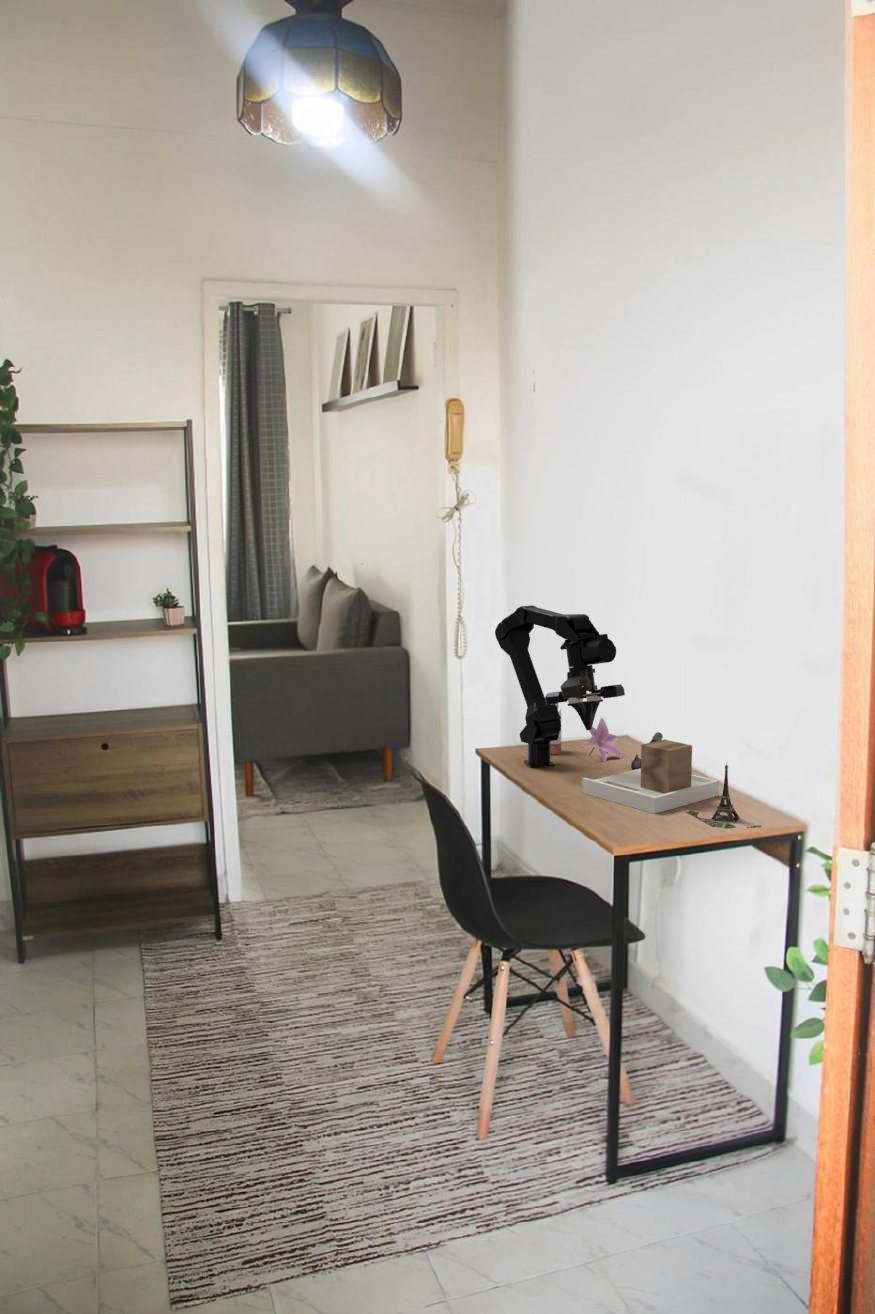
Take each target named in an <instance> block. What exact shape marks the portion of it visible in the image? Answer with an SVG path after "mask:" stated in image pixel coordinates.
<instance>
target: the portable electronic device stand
mask: <svg viewBox="0 0 875 1314" xmlns="http://www.w3.org/2000/svg"><path fill="white" fill-rule="evenodd" d="M660 740H663V733H662V732H659V731H657V732H655V733H654V735H653V736H652V738H651V741H649V743H651V742H656V741H660ZM630 768H631V771H632V770H636V769H640V768H641V757H640V758H639V754H636V755H635V756H634V759H633V760H632V761H631V765H630Z"/></svg>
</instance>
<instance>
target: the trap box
mask: <svg viewBox="0 0 875 1314" xmlns="http://www.w3.org/2000/svg"><path fill="white" fill-rule="evenodd" d="M719 786H720V780H717V779H712V778H709V777H704V776H699V775H695V774H691V787H688V788H684V789H680V790H677V791H673V792H669V793H665V794H664V793H660V792H656V791H652V790H649V789H645V788H641V767H640V768H639V769H636V770H632V769H631V770H628V771H624V772H619V773H615V774H611V775H608V776H604V777H603V776H602V777H599V778H596V779H592V778H588V777H582V778H581V790H582V791H581V793H582V794H585V795H588V796H592V797H595V798H599V799H602V800H606V801H609V802H613V803H616V804H620V805H623V806H626V807H630V808H634V809H637V810H641V811H645V812H647V813H651V814H654V815H656V814H659V813H663V812H665V811H670V810H672V809H676V808H681V807H683V806H688V805H691V804H694V803H698V802H702V801H704V800H708V799H713V798H716V797H718V795H719V793H720V792H719V791H720V790H719V789H720V787H719ZM715 796H716V797H715Z"/></svg>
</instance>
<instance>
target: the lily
mask: <svg viewBox="0 0 875 1314" xmlns="http://www.w3.org/2000/svg"><path fill="white" fill-rule="evenodd" d="M588 731H589V734H590V735H591V737H590V738H589V739H588V741H587V743H586V745H587V747H590V748H592V749H591V751H590V753H589V754H588V756H591V755H592V753H593V751H594V750H595V749H596V750H597V749H598V751H599V753H600V756H601V760H602V761H603V762H604V763H605V762H606V761H607V760H608V756H609V754H611V755H612V756H613V755H614V756H615V757H617V758H619V759H621V760H622V759H623V755H622V753H621V751H620V749H619V748H618V746H617V745H616V744H615V743H616V741H617V740H618V736H617V735H615V734H612V733H609V728H608V725H607V723H606V720H605V719H604V718H603V717H601V718H600V719H599V722H598V724H597V727H596V728H595V727H593V726H592V729H591V730H588Z"/></svg>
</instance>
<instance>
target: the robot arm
mask: <svg viewBox="0 0 875 1314" xmlns="http://www.w3.org/2000/svg"><path fill="white" fill-rule="evenodd" d="M535 625H536V626H540V627H542V628H546V629H548V630H549V629H550V630H552V631H554V632H555V634H556V636H559V637H561V638H563V639H564V642H562V644H561V646H560V647H559V648H560V650H561V651H563V650H566V657H567V665H568V671H567V672H566V676H567V678H566V680H565V681H564V682H563V683H562V684H561V685H560V686H559V687H560V690H561V691H554V692H547V693H546V695H545V693H544V692H543V688H542V686H541V683H540V680H539V677H538V674H537V672H536V669H535V666H534V664H533V660H532V657H531V656H530V655H531V654H530V652H529V647H530V642H531V636H530V633H531V632H532V631H533V630H534V628H535ZM608 635H609V634H608V633H602V634H601V633H600V632H599V631H598V630H597V628H596V627H595V625H594V624H593V623H592V621H591V620H590V617H589V616H588V615H587V614H585V613H572V614H570V613H569V614H568V613H567V614H564V613H559V612H556V611H552V610H548V609H544V608H541V607H537V606H536V605H533V604H531V605H522V606H518V607H517V608H516V610H515V611H513V612H512V613H511V614H510V615H508V616H506V617H504V619H502V621H500V622H499V623H498V624H497V626H496V628H495V631H494V636H495V639H496V641H497V643H498V645H499V646H500V649H501V650H502V651H504V652H505V653H506V654H507V655H508V656H509V657H510V660H511V663H512V666H513V669H514V672H515V676H516V678H517V680H518V684H519V687H520V689H521V692H522V696H523V698H524V701H525V703H526V708H527V709H526V713H525V717H524V719H525V724H526V725H525V726H524V727H523V729H521V731H520V733H519V738H520V742H521V743H524V744H527V759H525V760H523V763H524V764H525V765H527V766H528V767H529V768H530V769H531V768H532V769H533V768H534V769H535V768H546V767H556V766H555V763H554V762H553V761H551V754H550V741H554V740H555V741H556V740H558V736H559V732H560V729H561V730H562V716H561V717H560V715H559V713H558V709H559V708H558V709H557V706H556V705H555V704H557V703H566V702H568V703H567V706H568V707H572V708H573V709H574V710H575V712H576V713H577V715H578V716H579V718H580V719H581V722H582V724H583V726H584V728H585V729H586V731H589V730H591V729H592V727H593V724H594V721H595V717H596V713H597V712H598V708H599V706H600V703H603V702H604V699H608V698H609V699H610V698H617V697H623V696H625V695H626V694H625V688H624V686H623V685H622V684H620V683H619V684H611V685H605V686H601V687H600V689H598V685H596V683H595V673H596V669H595V668H593V667H594V666H593V665H599V664H606V663H610V662H613V661H614V660H615V658H616V655H617V647H616V645H615V643H614V642H613V641H612V640H611V639H610V638H609V636H608ZM584 699H586V700H585V701H584ZM550 704H551V705H550ZM560 719H561V721H560Z"/></svg>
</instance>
